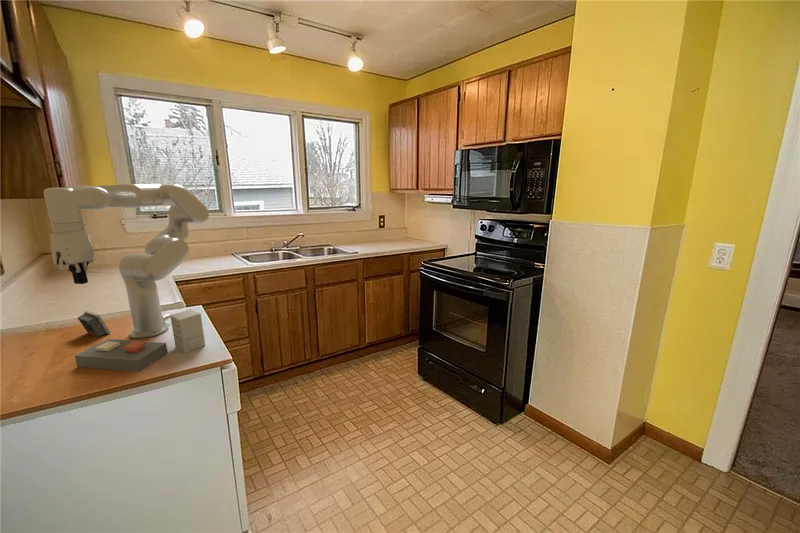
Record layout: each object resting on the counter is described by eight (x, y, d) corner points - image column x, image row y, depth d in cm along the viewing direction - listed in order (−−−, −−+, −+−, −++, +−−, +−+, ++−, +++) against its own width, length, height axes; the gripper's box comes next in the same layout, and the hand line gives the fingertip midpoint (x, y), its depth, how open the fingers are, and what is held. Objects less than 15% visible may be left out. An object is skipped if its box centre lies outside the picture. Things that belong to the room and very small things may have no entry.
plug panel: (110, 349, 125) (108, 338, 124) (167, 353, 123) (166, 342, 122) (77, 366, 113) (74, 355, 112) (139, 371, 111) (137, 360, 110)
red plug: (136, 351, 119) (134, 340, 118) (148, 352, 119) (146, 341, 118) (125, 357, 115) (122, 346, 114) (137, 358, 115) (135, 347, 114)
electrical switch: (111, 333, 137) (104, 312, 134) (96, 340, 132) (88, 318, 129) (98, 329, 141) (90, 308, 138) (82, 335, 136) (74, 314, 133)
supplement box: (195, 339, 133) (191, 308, 130) (205, 345, 129) (201, 313, 126) (174, 347, 127) (169, 314, 124) (184, 353, 123) (179, 319, 120)
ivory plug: (110, 352, 121) (108, 341, 120) (121, 352, 120) (119, 342, 119) (98, 358, 116) (95, 347, 115) (110, 359, 116) (107, 348, 115)
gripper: (79, 224, 118) (90, 276, 123) (32, 231, 104) (47, 290, 108) (100, 224, 118) (111, 277, 122) (56, 231, 103) (70, 290, 108)
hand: (81, 283), depth 115 cm, fingers closed
